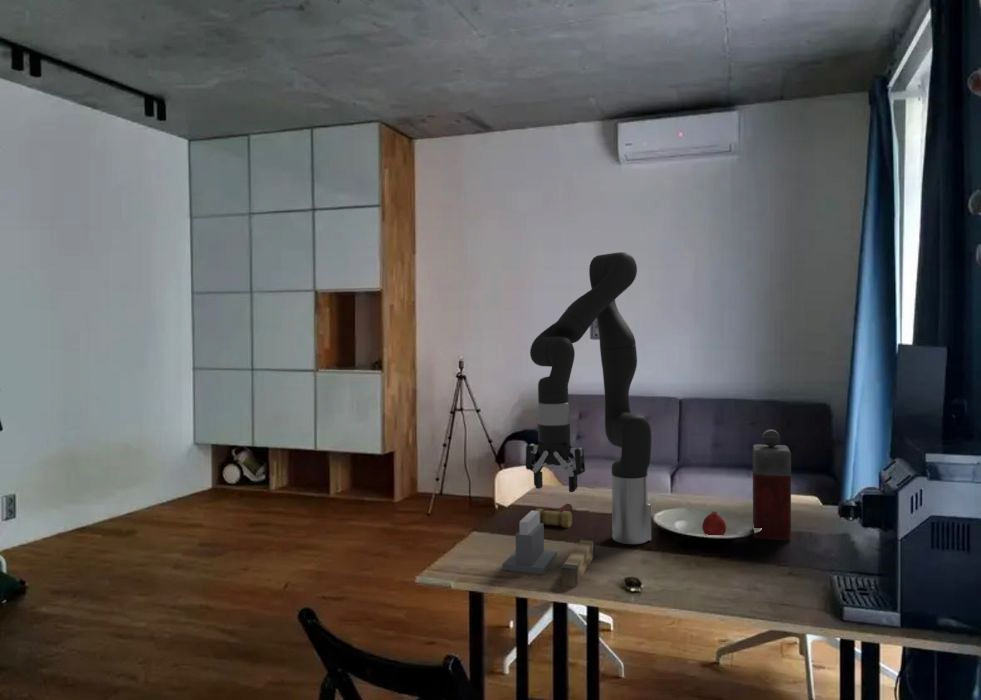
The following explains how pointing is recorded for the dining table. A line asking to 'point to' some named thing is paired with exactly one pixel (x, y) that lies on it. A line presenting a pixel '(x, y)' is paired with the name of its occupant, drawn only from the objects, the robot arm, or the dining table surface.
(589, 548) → the oak beam
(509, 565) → the stand
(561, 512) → the gavel
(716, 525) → the onion
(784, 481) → the red liquor decanter
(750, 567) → the dining table surface
